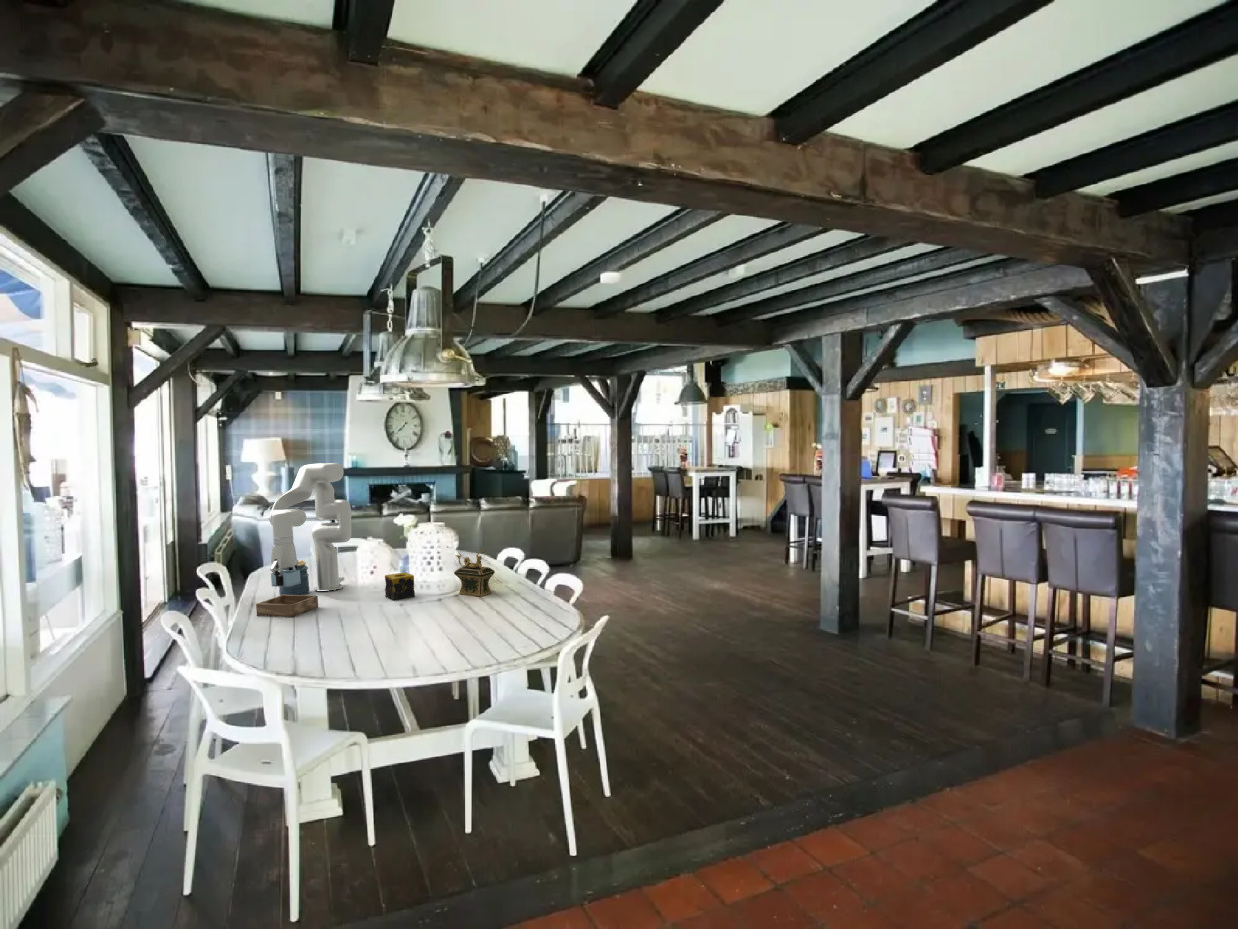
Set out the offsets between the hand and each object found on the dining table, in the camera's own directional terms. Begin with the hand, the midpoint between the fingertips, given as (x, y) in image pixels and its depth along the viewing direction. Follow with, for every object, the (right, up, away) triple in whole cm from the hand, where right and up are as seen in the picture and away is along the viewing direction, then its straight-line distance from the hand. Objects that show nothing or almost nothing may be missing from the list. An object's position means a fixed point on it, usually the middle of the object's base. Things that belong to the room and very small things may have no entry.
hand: (286, 583), depth 301 cm
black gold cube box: (+42, -10, +19) cm, 47 cm away
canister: (-11, -11, +33) cm, 37 cm away
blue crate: (0, -1, 0) cm, 1 cm away
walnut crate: (0, -12, +1) cm, 12 cm away
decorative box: (+74, -8, +22) cm, 77 cm away
